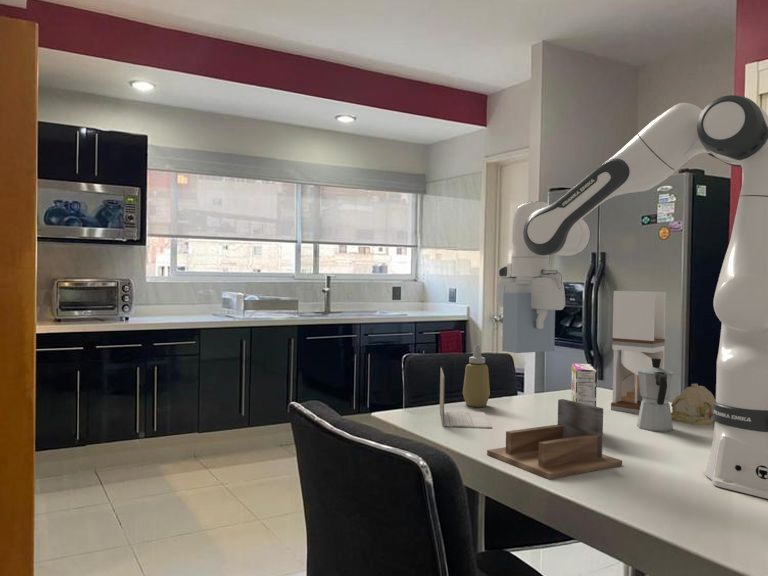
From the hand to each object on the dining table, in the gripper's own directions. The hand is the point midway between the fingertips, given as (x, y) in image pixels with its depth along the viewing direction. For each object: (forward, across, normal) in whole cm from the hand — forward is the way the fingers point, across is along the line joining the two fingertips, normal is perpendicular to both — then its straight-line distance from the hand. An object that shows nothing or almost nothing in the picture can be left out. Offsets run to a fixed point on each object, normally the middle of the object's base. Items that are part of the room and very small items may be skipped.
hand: (528, 327), depth 147 cm
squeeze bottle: (+26, +34, -11) cm, 44 cm away
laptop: (+26, +20, +4) cm, 33 cm away
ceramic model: (+26, -6, -56) cm, 62 cm away
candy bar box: (+26, -4, -14) cm, 30 cm away
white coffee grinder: (+26, +9, -51) cm, 58 cm away
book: (+6, 0, 0) cm, 6 cm away
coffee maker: (+26, -9, -35) cm, 45 cm away
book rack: (+26, -18, +10) cm, 33 cm away
